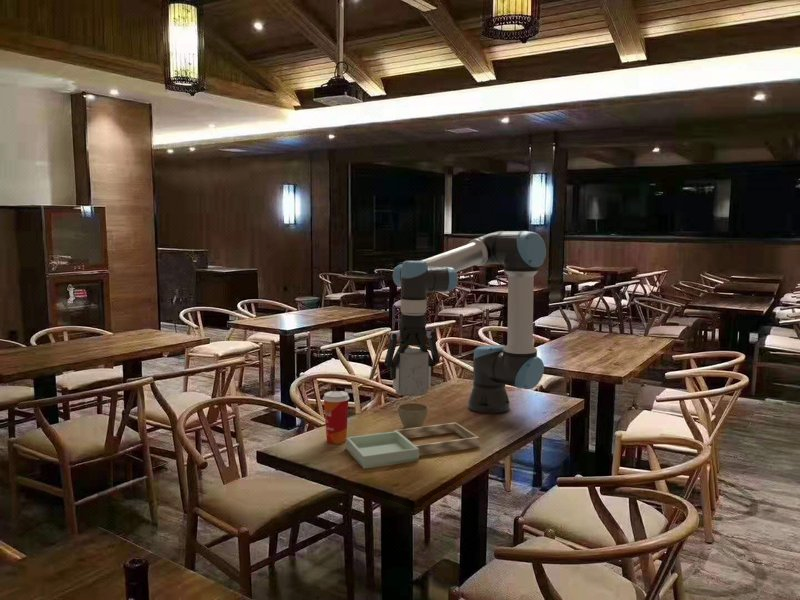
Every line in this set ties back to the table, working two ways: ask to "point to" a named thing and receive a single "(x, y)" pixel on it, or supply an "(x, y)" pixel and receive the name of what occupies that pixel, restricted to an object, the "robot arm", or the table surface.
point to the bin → (381, 449)
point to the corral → (445, 446)
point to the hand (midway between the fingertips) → (411, 388)
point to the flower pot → (412, 414)
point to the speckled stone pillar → (413, 372)
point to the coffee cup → (336, 416)
